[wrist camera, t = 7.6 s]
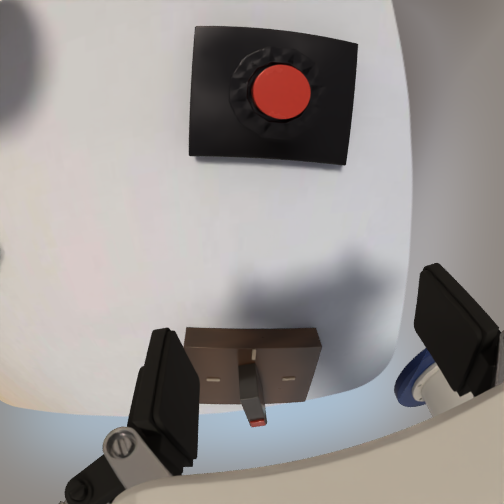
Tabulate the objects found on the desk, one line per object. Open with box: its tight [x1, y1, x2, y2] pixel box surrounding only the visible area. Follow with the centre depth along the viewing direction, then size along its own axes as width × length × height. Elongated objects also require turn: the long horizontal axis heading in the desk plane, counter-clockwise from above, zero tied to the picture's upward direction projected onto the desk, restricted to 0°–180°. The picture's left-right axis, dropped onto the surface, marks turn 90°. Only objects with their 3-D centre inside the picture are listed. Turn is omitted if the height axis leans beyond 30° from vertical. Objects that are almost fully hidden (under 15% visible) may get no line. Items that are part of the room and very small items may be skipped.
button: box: [251, 65, 311, 119], centre depth 18 cm, size 4×4×2 cm
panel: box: [184, 327, 322, 404], centre depth 33 cm, size 14×10×3 cm
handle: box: [238, 363, 267, 427], centre depth 30 cm, size 6×2×5 cm, turn 10°
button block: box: [189, 26, 358, 165], centre depth 20 cm, size 12×10×4 cm
